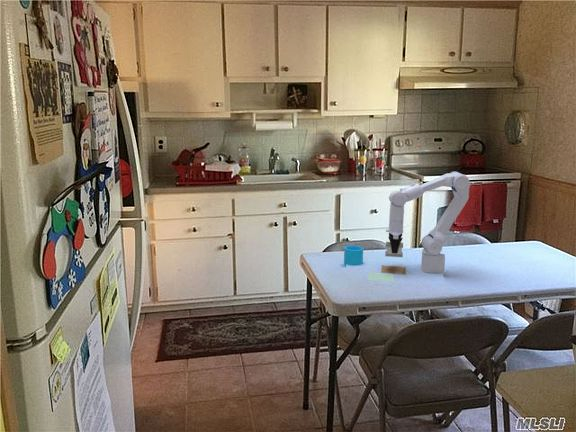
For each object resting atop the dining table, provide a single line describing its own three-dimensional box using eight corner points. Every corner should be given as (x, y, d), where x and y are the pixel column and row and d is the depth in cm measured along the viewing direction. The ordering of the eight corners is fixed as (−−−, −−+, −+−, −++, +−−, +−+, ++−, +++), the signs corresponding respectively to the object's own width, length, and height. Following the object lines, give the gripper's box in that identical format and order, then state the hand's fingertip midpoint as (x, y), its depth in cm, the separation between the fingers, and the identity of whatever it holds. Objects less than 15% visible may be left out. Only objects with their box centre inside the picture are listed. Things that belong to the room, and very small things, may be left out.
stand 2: (405, 270, 222) (405, 266, 221) (405, 277, 212) (405, 274, 212) (381, 268, 223) (381, 265, 223) (381, 275, 214) (381, 272, 213)
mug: (364, 268, 224) (365, 250, 222) (346, 269, 222) (347, 251, 220) (356, 260, 235) (357, 243, 233) (339, 261, 234) (339, 243, 232)
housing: (402, 254, 217) (402, 242, 216) (402, 257, 213) (403, 245, 212) (385, 253, 219) (386, 241, 217) (385, 256, 215) (385, 244, 214)
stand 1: (393, 277, 212) (393, 274, 212) (393, 285, 202) (393, 282, 202) (368, 275, 214) (368, 272, 213) (367, 283, 204) (367, 280, 204)
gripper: (386, 215, 220) (385, 246, 223) (386, 223, 207) (384, 255, 209) (403, 216, 219) (401, 247, 222) (404, 224, 205) (402, 257, 208)
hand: (394, 251), depth 216 cm, fingers closed on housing, 4 cm apart
